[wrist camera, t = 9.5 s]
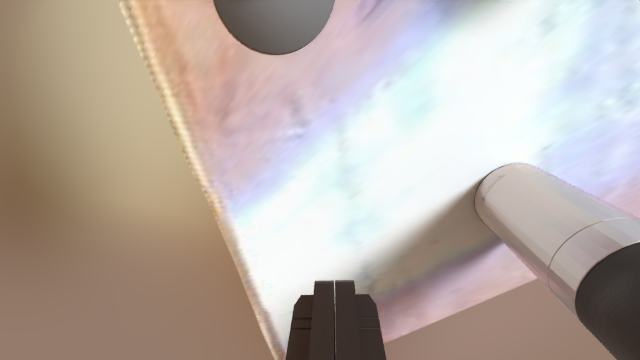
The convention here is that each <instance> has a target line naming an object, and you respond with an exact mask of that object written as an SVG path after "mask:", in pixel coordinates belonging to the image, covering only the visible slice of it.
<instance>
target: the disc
mask: <svg viewBox="0 0 640 360" xmlns="http://www.w3.org/2000/svg"><path fill="white" fill-rule="evenodd" d="M214 1H215V4H216V7H217V10H218V12H219V14H220V16H221V18H222V20H223V21H224V23H225V25H226V26H227V27H228V29H229V30H230V31H231V32H232V33H233V34H234V35H235V36H236V37H237V38H238V39H239V40H240V41H242V42H243V43H244V44H246V45H248V46H249V47H251V48H253V49H255V50H258V51H261V52H265V53H271V54H283V53H289V52H292V51H295V50H298V49H300V48H302V47H304V46H305V45H307V44H309V43H310V42H311V41H312V40H313V39H315V37H316V36H317V35H318V34H319V33H320V32H321V30H322V29H323V28H324V26H325V25H326V23H327V21H328V19H329V17H330V14H331V12H332V9H333V5H334V1H335V0H214Z"/></svg>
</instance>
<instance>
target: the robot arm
mask: <svg viewBox="0 0 640 360" xmlns="http://www.w3.org/2000/svg"><path fill="white" fill-rule="evenodd" d="M475 209H476V212H477V214H478V216H479V217H480V218H481V220H482V221H483V222H484V223H485V224H486V225H487V226H488V227H489V228H490V229H491V230H492V231H493V232H494V233H495V234H496V235H497V236H498V237H499V238H500V239H501V240H502V241H503V242H504V244H505V245H506V246H507V247H508V248H509V249H510V250H511V251H512V252H513V253H514V254H515V255H516V256H517V257H518V258H519V259H520V260H521V261H522V262H523V263H524V264H525V265H526V266H527V267H528V268H529V269H530V270H531V271H532V272H533V273H534V274H535V275H536V276H537V278H538V279H539V280H540V281H541V282H542V283H543V284H544V285H545V286H546V287H547V288H548V289H549V290H550V291H551V292H552V293H553V294H554V295H555V296H556V297H557V298H558V299H559V300H560V301H561V302H562V303H563V304H564V305H565V306H566V307H567V308H568V309H569V310H570V311H571V312H572V313H573V314H574V315H575V316H576V317H577V319H578V320H579V321H580V322H581V323H583V325H584V326H585V327H586V328H587V329H588V330H589V331H590V332H591V333H592V334H593V335H594V336H595V337H596V338H597V339H598V340H599V341H600V342H601V343H602V344H603V345H604V346H605V348H606V349H607V350H608V351H609V352H610V353H611V354H612V355H613V356H614V357H615V358H616V359H617V360H640V219H639V218H637V217H635V216H633V215H631V214H629V213H627V212H625V211H623V210H621V209H619V208H617V207H615V206H613V205H611V204H609V203H607V202H605V201H603V200H601V199H599V198H597V197H595V196H593V195H591V194H589V193H587V192H585V191H583V190H581V189H579V188H577V187H575V186H573V185H571V184H569V183H567V182H565V181H563V180H561V179H559V178H557V177H555V176H553V175H551V174H549V173H547V172H545V171H543V170H541V169H539V168H537V167H535V166H533V165H530V164H526V163H514V164H509V165H505V166H502V167H500V168H498V169H496V170H495V171H493V172H492V173H491V174H489V175H488V176H487V177H486V178H485V179H484V180H483V181H482V183H481V184H480V186H479V187H478V190H477V192H476V195H475ZM335 299H336V351H335V303H334V281H315V285H314V295H301V296H300V298H299V299H298V301H297V302H296V304H295V305H294V310H293V316H292V322H291V330H290V335H289V341H288V348H287V354H286V360H386V356H385V351H384V345H383V339H382V334H381V330H380V323H379V319H378V312H377V307H376V304H375V303H374V301H373V300H372V298H371V297H370V296H369V294H359V295H355V285H354V280H335Z"/></svg>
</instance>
